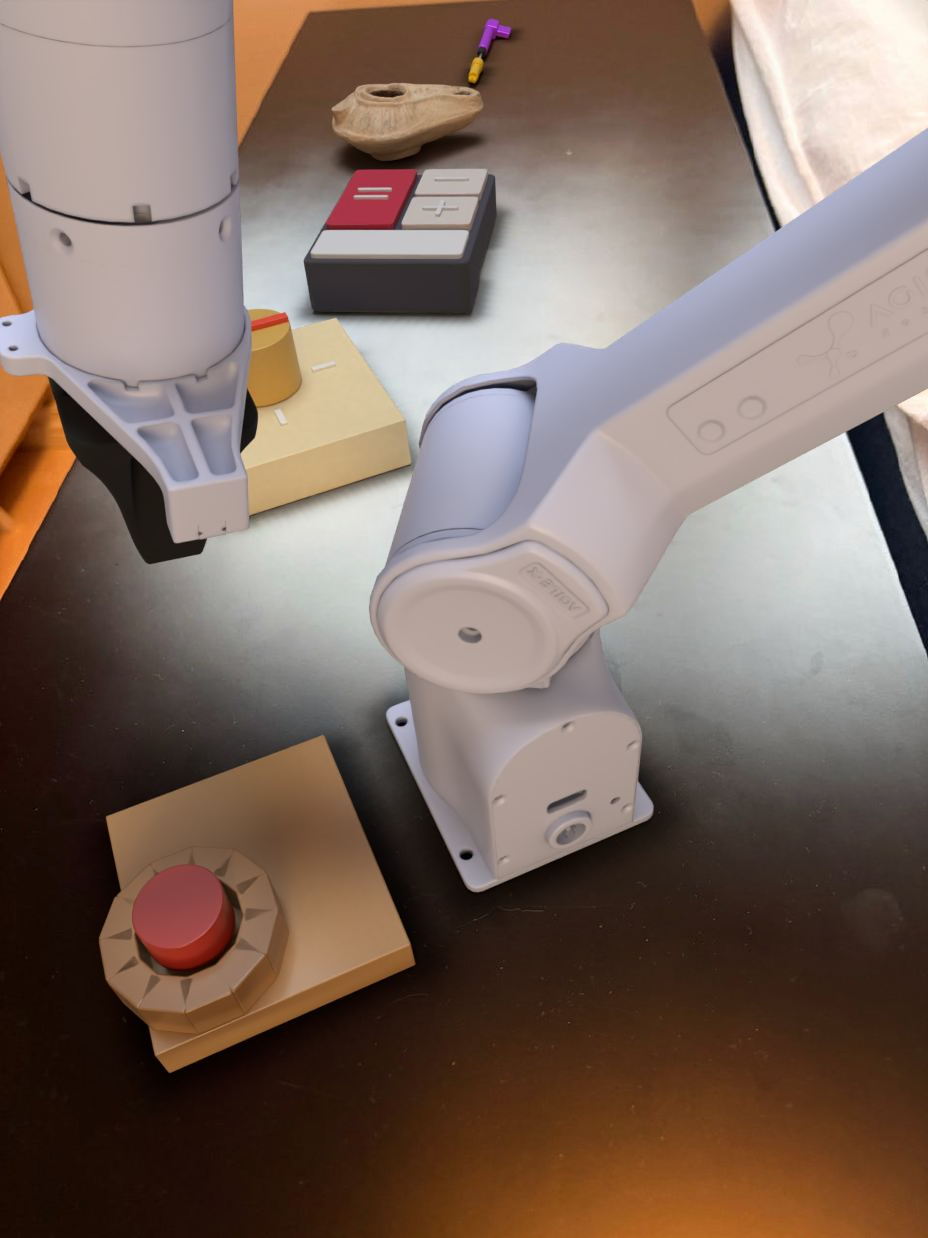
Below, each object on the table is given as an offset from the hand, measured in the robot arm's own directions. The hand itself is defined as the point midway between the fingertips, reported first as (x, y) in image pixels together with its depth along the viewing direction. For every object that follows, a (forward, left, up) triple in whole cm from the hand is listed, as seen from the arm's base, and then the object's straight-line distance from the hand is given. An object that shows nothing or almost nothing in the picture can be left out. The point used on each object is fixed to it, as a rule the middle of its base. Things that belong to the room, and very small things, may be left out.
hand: (170, 546), depth 36 cm
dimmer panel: (+20, -8, -11) cm, 24 cm away
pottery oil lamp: (+54, -29, -11) cm, 62 cm away
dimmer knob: (+21, -7, -8) cm, 23 cm away
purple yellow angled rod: (+71, -44, -11) cm, 84 cm away
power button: (-10, +4, -8) cm, 13 cm away
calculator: (+36, -22, -11) cm, 43 cm away
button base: (-8, +1, -11) cm, 14 cm away
